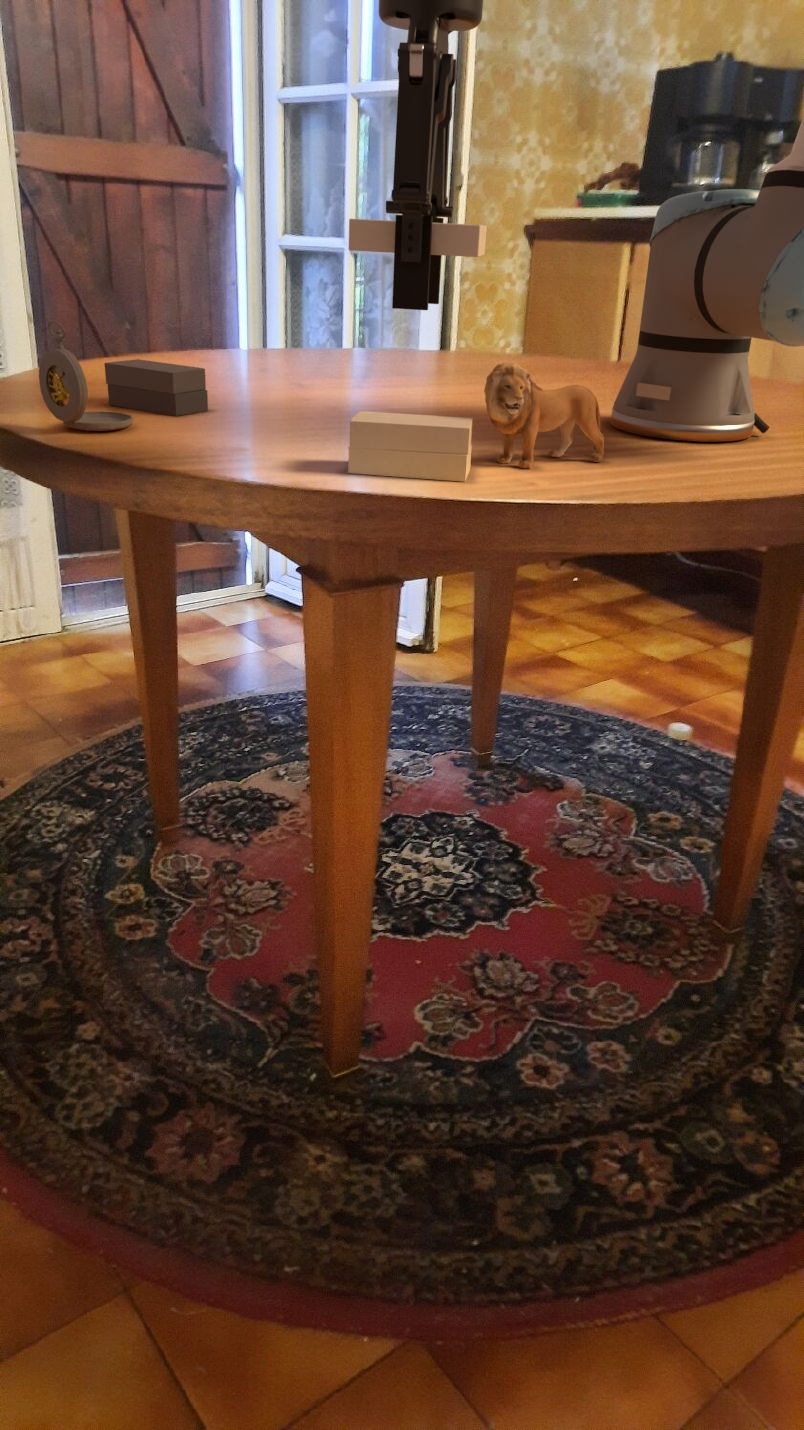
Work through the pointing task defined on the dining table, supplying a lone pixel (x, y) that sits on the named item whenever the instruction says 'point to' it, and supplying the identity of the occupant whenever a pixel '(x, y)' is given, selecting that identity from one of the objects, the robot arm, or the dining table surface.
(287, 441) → the dining table surface
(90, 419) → the pocket watch
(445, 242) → the beige flat block
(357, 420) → the beige cardboard block
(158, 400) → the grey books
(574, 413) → the lion figurine
